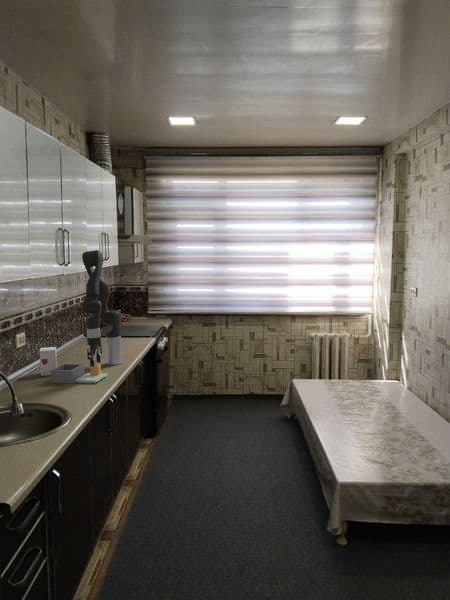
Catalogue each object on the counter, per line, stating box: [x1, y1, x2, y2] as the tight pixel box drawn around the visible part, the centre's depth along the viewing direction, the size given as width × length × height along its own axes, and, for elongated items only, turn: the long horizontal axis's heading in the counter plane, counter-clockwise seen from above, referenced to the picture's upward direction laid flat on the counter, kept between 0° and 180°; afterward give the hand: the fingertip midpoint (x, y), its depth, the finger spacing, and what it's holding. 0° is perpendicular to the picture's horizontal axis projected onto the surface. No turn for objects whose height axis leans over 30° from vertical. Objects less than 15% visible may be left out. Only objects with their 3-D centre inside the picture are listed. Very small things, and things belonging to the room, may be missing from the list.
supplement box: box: [39, 346, 58, 377], centre depth 303 cm, size 9×9×15 cm
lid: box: [75, 363, 109, 384], centre depth 286 cm, size 15×12×8 cm
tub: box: [50, 363, 85, 384], centre depth 288 cm, size 15×12×7 cm
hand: (95, 364), depth 290 cm, fingers open, 8 cm apart
